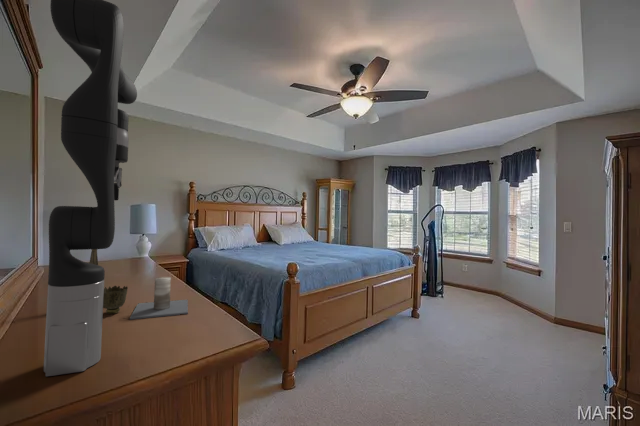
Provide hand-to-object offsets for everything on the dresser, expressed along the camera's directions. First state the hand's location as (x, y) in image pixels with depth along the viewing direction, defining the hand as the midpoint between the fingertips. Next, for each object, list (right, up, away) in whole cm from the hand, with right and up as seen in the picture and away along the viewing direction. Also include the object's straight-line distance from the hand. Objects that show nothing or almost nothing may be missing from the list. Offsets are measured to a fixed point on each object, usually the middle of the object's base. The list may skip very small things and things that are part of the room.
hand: (110, 199), depth 86 cm
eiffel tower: (-17, -36, +14) cm, 42 cm away
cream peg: (+8, -36, +13) cm, 39 cm away
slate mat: (+8, -37, +13) cm, 40 cm away
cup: (-5, -36, +8) cm, 38 cm away
